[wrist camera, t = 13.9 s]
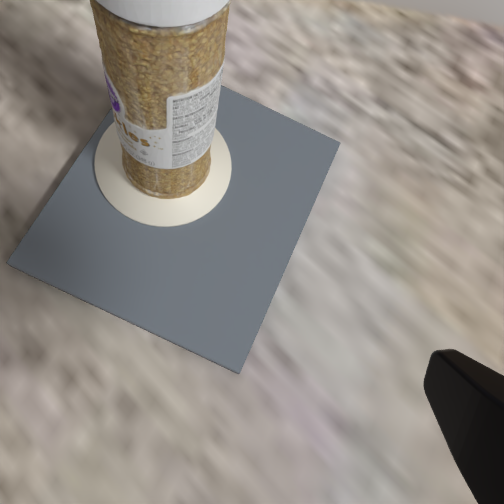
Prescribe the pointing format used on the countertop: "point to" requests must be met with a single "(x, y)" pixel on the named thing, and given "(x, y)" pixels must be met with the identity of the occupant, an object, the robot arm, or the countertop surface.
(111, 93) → the sprinkles bottle
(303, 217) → the board
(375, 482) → the countertop surface
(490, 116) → the countertop surface
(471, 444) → the robot arm
